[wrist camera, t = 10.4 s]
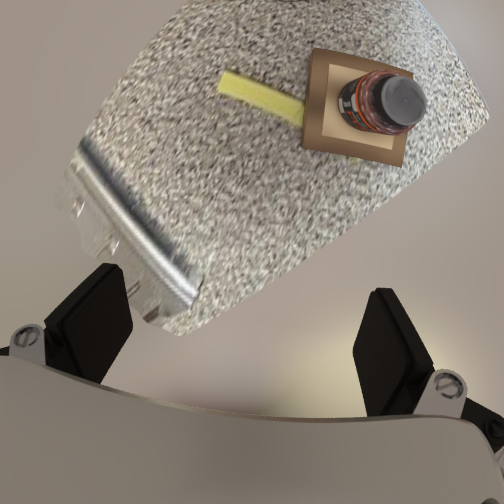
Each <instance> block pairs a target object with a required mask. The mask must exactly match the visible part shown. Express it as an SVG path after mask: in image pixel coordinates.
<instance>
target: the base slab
mask: <svg viewBox="0 0 504 504" xmlns="http://www.w3.org/2000/svg"><path fill="white" fill-rule="evenodd" d="M380 69H390V70H394V71H397V72H399V73H401V74H403V75H404V76H406V77H408V78H411V79H413V73H412V72H409V71H406V70H403V69H400V68H397V67H394V66H391V65H387V64H384V63H381V62H377V61H374V60H370V59H366V58H362V57H358V56H354V55H350V54H346V53H341V52H336V51H331V50H326V49H320V48H313V50H312V53H311V55H310V62H309V73H308V83H307V92H306V101H305V110H304V119H303V128H302V136H301V144H300V146H301V147H302V148H304V149H311V150H317V151H323V152H329V153H335V154H340V155H346V156H351V157H356V158H361V159H366V160H371V161H375V162H380V163H384V164H388V165H393V166H397V167H401V168H402V163H403V157H404V151H405V145H406V138H407V132H406V133H404V134H401V135H395V136H392V135H384V134H378V133H373V132H365V131H360V130H358V129H355V128H353V127H352V126H350V125H349V124H348V123H347V122H346V121H345V120H344V119H343V118H342V116H341V114H340V112H339V108H338V96H339V93H340V91H341V90H342V88H343V87H344V86H345V85H346V84H347V83H349V82H350V81H353V80H355V79H357V78H359V77H361V76H363V75H365V74H368V73H370V72H372V71H375V70H380Z"/></svg>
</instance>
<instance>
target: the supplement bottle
mask: <svg viewBox="0 0 504 504" xmlns="http://www.w3.org/2000/svg"><path fill="white" fill-rule="evenodd" d="M426 106H427V104H426V98H425V94H424V92H423V90H422V89H421V87H420V86H419V85H418V84H417V83H416V82H415V81H414V80H413V79H411V78H408V77H406V76H404V75H403V74H401V73H399V72H397V71H394V70H390V69H380V70H375V71H372V72H370V73H368V74H365V75H363V76H361V77H359V78H357V79H355V80H353V81H350V82H349V83H347V84H346V85H345V86H344V87H343V88H342V90H341V91H340V93H339V96H338V108H339V112H340V114H341V116H342V118H343V119H344V120H345V121H346V122H347V123H348V124H349V125H350V126H352V127H353V128H355V129H358V130H360V131H365V132H373V133H378V134H384V135H392V136H395V135H401V134H404V133H406V132H408V131H409V130H411V129H412V128H413V127H414V126H415V125H416V124H417V123H418V122H420V121H421V120H422V118H423V117H424V115H425V113H426Z"/></svg>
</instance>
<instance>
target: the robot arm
mask: <svg viewBox="0 0 504 504" xmlns="http://www.w3.org/2000/svg"><path fill="white" fill-rule="evenodd" d="M282 1H298V0H282ZM44 322H45V325H46V328H45V329H44V330H43V328H42V327H41V326H39V325H37V324H28V325H25V326H22V327H20V328H19V329H17V330H16V331H15V332H14V333H13V335H12V336H11V340H10V346H8V347H4V348H1V349H0V504H504V418H503V417H501V416H500V415H498V414H496V413H495V412H492V411H491V410H489V409H487V408H485V407H483V406H482V405H480V404H478V403H476V402H474V401H472V400H471V399H469V398H467V397H466V395H467V386H466V383H465V381H464V380H463V378H462V377H461V376H460V375H459V374H457V373H455V372H453V371H451V370H448V369H440V370H437V371H435V369H434V367H433V361H432V359H431V357H430V355H429V354H428V351H427V350H426V348H425V346H424V344H423V342H422V340H421V338H420V336H419V335H418V333H417V331H416V329H415V327H414V325H413V324H412V322H411V320H410V318H409V317H408V315H407V313H406V311H405V309H404V308H403V306H402V304H401V303H400V301H399V299H398V298H397V296H396V294H395V293H394V291H393V289H391V288H376V290H375V291H372V292H371V293H370V296H369V299H368V303H367V306H366V310H365V313H364V316H363V319H362V322H361V325H360V329H359V331H358V334H357V337H356V340H355V343H354V346H353V357H354V361H355V365H356V369H357V373H358V378H359V382H360V386H361V390H362V394H363V399H364V403H365V408H366V412H367V417H353V418H294V417H275V416H261V415H250V414H240V413H232V412H224V411H217V410H209V409H204V408H197V407H192V406H186V405H180V404H175V403H171V402H166V401H161V400H157V399H153V398H148V397H144V396H140V395H136V394H132V393H129V392H124V391H121V390H118V389H114V388H111V387H108V386H104V385H101V384H100V383H101V382H102V380H103V378H104V376H105V375H106V373H107V372H108V370H109V368H110V367H111V365H112V363H113V362H114V360H115V358H116V357H117V355H118V353H119V352H120V350H121V348H122V347H123V345H124V343H125V342H126V340H127V339H128V337H129V336H130V334H131V332H132V329H133V322H132V318H131V313H130V308H129V303H128V298H127V293H126V288H125V282H124V276H123V271H122V269H121V268H119V266H118V265H117V264H110V263H103V264H101V265H100V266H99V268H97V269H96V270H95V271H94V272H93V273H92V274H91V275H90V276H89V277H87V278H86V279H85V280H84V281H83V282H82V283H81V284H80V285H79V286H78V287H77V288H76V289H75V290H74V291H73V292H72V293H71V294H70V295H69V296H68V297H67V298H66V299H65V300H64V301H63V302H62V303H61V304H60V305H59V306H58V307H57V308H56V309H55V310H54V311H53V312H52V313H51V314H50V315H49V316H48V317H47V318H46V319H45V320H44Z"/></svg>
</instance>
